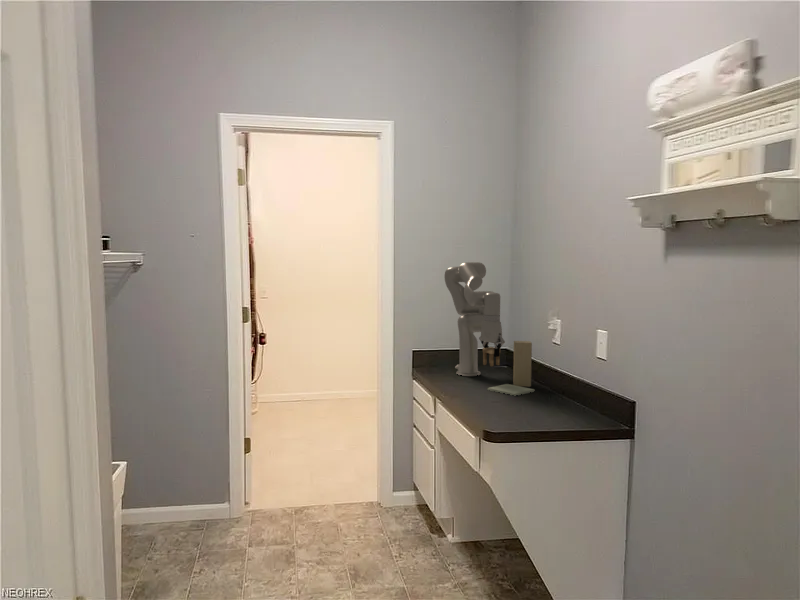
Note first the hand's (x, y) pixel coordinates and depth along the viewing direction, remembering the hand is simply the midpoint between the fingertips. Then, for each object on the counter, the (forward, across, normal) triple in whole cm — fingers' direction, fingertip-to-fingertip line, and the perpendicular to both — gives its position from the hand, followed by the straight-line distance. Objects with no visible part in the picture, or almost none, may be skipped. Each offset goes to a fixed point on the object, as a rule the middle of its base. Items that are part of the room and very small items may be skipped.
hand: (491, 355), depth 281 cm
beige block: (+14, +11, +10) cm, 20 cm away
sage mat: (+14, +16, -4) cm, 21 cm away
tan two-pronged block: (+5, 0, 0) cm, 5 cm away
